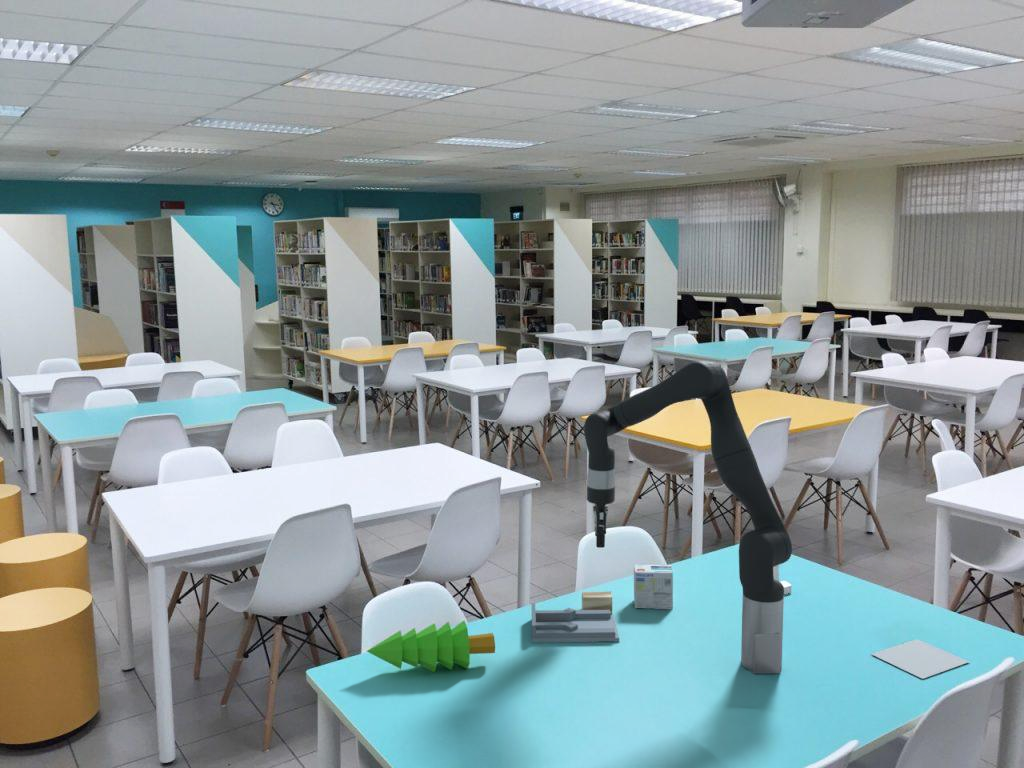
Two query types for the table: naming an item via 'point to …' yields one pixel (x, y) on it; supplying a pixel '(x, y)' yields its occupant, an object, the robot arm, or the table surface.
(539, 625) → the slot board
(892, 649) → the paper stack
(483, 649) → the decorative tree
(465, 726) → the table surface
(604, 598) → the birch block
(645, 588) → the light bulb box
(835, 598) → the table surface
